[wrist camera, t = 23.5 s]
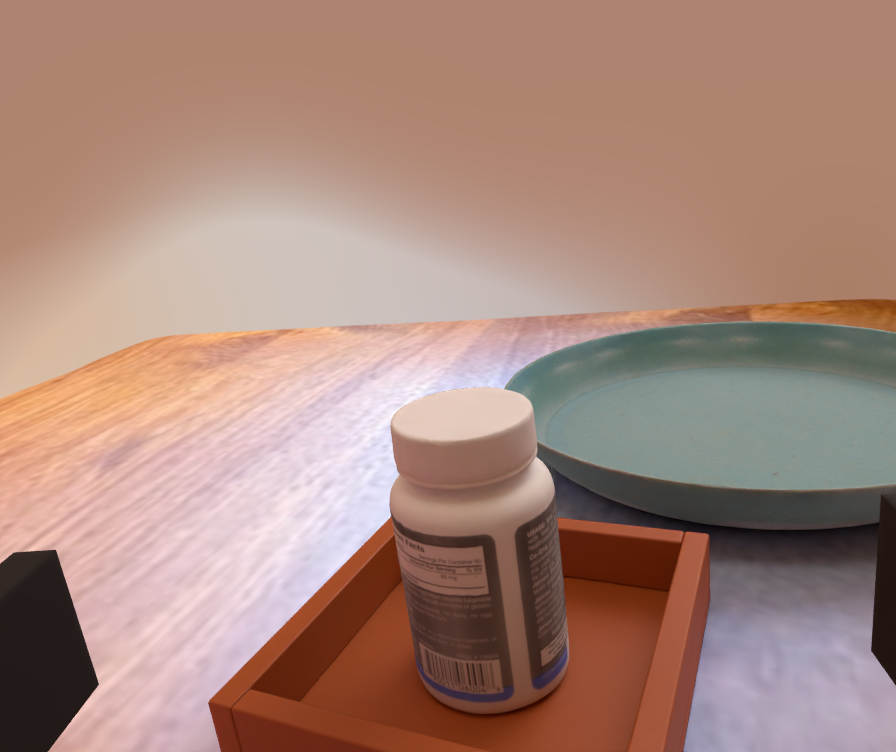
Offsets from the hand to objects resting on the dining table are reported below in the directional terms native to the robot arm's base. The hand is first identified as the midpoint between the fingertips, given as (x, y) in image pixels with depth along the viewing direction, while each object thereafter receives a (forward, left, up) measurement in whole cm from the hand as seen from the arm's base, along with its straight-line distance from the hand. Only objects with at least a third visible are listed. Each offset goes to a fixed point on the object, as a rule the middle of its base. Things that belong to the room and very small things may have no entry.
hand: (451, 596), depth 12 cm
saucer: (-3, -28, -9) cm, 30 cm away
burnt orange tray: (+3, -8, -9) cm, 13 cm away
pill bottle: (+3, -8, -9) cm, 12 cm away
